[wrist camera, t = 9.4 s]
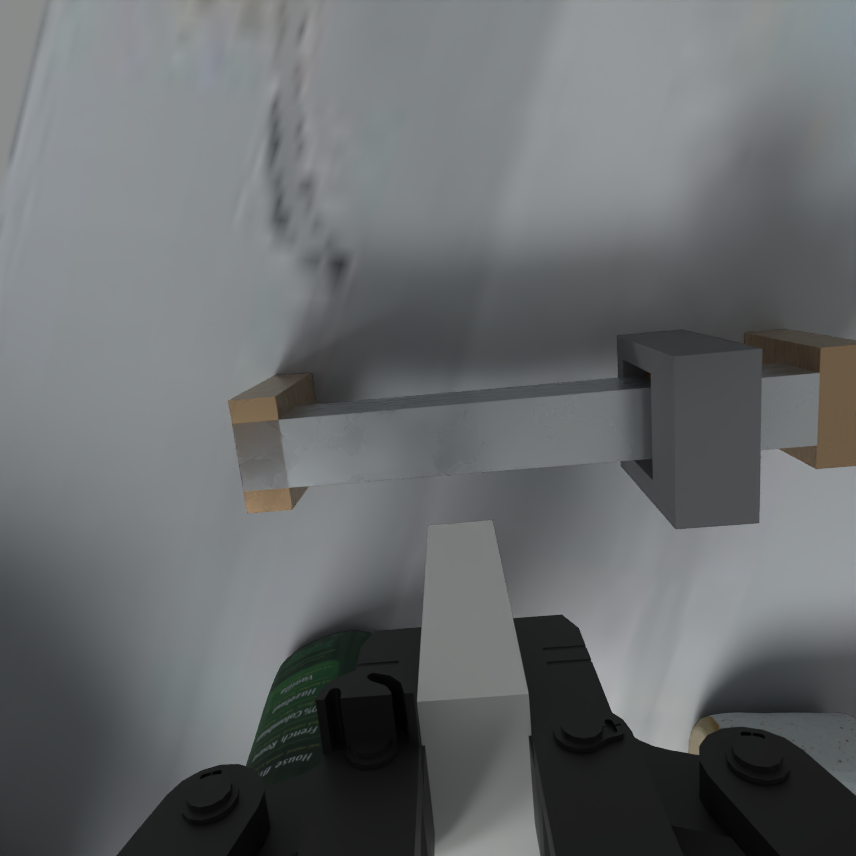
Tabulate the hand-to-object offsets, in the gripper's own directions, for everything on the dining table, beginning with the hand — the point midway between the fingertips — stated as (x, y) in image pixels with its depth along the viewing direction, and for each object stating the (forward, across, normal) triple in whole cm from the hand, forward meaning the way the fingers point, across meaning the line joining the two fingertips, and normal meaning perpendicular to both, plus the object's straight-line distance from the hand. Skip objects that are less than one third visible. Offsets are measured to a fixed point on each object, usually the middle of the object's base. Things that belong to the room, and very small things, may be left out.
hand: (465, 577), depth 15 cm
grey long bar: (+19, +4, 0) cm, 20 cm away
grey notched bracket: (+17, +9, 0) cm, 19 cm away
